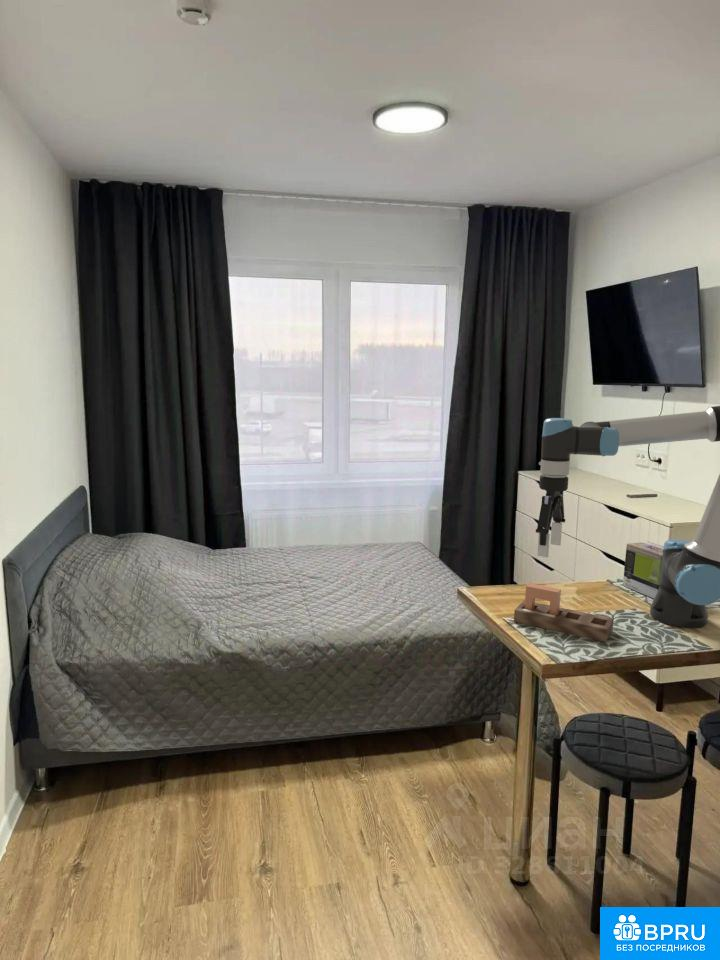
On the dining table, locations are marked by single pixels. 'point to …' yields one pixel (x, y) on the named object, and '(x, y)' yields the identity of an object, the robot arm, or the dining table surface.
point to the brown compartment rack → (566, 621)
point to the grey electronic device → (643, 567)
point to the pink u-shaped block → (543, 597)
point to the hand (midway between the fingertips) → (549, 550)
